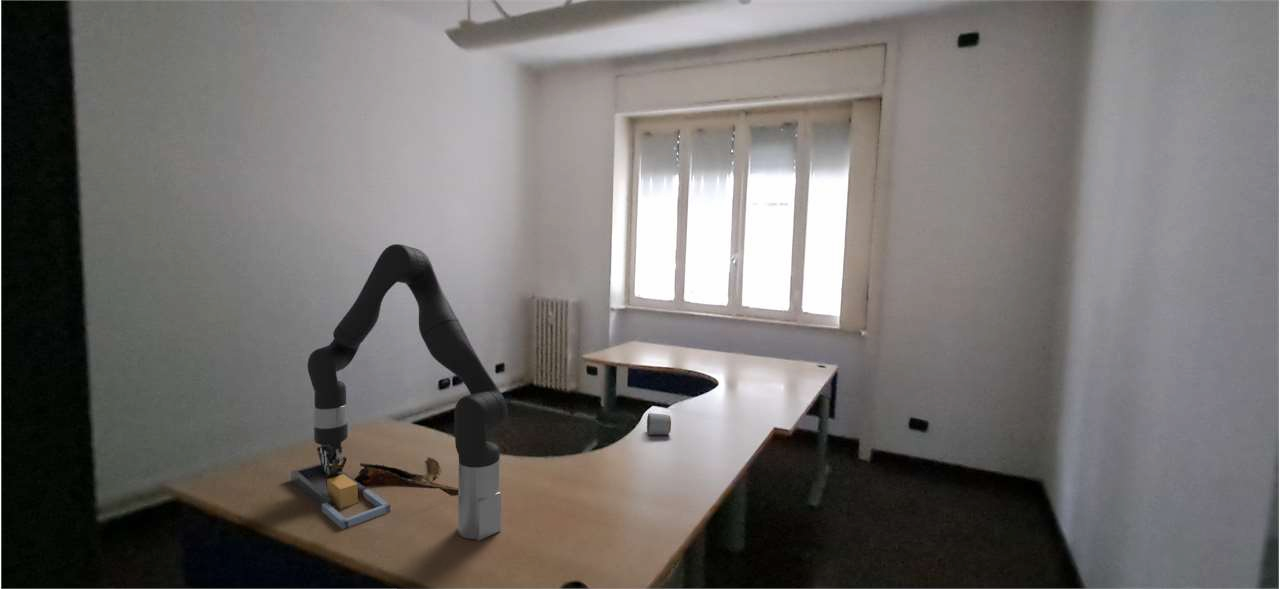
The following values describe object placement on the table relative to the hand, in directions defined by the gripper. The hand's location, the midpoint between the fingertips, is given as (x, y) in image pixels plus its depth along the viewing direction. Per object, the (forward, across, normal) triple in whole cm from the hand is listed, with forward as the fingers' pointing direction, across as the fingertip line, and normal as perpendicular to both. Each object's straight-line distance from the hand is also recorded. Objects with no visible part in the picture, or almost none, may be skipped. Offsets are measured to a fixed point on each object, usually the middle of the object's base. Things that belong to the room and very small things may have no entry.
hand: (331, 486), depth 139 cm
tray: (+3, -14, 0) cm, 15 cm away
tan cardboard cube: (+1, -5, 0) cm, 5 cm away
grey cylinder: (+3, -31, -99) cm, 104 cm away
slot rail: (+3, +3, 0) cm, 4 cm away
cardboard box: (+1, -9, 0) cm, 9 cm away
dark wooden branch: (+4, -4, -21) cm, 22 cm away
